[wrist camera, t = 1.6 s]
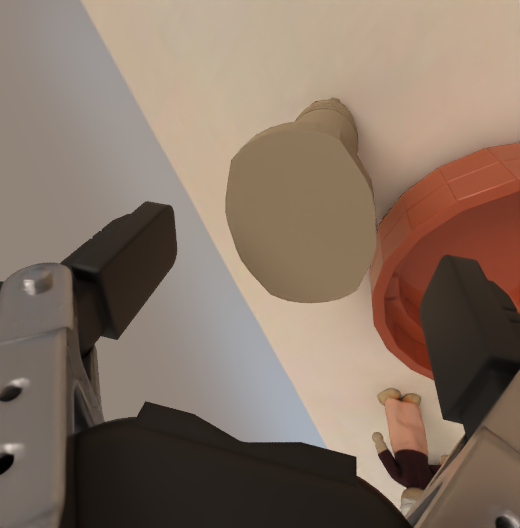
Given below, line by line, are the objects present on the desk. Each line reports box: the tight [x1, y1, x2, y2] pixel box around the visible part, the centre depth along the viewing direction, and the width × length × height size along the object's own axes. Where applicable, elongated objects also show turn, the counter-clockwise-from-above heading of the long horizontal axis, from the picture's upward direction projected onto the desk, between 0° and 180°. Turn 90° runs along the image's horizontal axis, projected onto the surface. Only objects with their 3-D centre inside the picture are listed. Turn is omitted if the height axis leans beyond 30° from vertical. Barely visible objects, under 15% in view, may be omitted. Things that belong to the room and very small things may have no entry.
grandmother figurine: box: [372, 389, 448, 516], centre depth 33 cm, size 8×4×13 cm, turn 92°
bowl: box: [370, 143, 520, 380], centre depth 24 cm, size 18×18×6 cm
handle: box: [226, 98, 376, 303], centre depth 17 cm, size 5×6×15 cm
